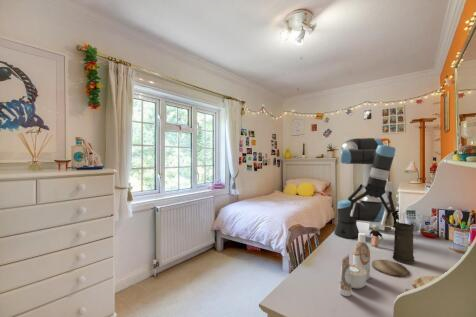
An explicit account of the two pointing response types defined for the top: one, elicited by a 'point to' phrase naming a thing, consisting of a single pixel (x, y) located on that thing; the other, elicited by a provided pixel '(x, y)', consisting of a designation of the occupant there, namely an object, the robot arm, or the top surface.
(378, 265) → the walnut board
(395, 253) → the container
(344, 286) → the cosmetic set
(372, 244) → the grandmother figurine
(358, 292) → the top surface
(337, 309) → the top surface
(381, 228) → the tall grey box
